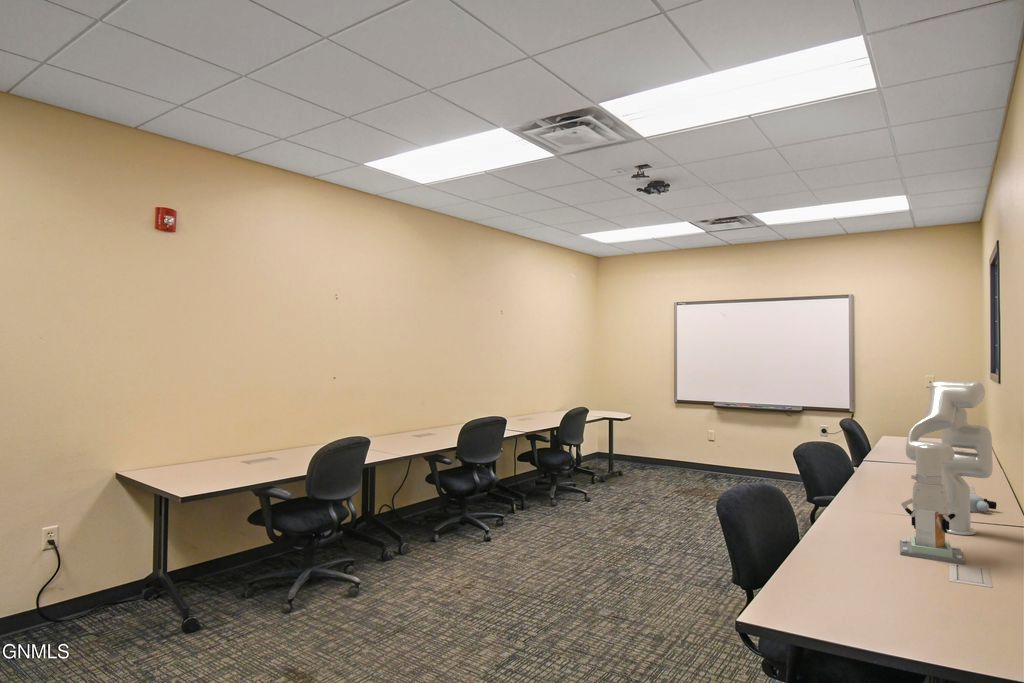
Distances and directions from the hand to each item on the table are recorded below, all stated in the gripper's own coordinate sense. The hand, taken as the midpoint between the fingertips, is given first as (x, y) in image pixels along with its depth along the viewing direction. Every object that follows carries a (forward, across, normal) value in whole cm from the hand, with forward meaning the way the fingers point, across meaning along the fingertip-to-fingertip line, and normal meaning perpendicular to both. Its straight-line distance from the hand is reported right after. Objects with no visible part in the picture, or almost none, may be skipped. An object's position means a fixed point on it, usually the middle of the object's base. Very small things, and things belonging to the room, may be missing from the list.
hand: (930, 529), depth 207 cm
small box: (+6, 0, 0) cm, 6 cm away
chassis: (+8, 0, 0) cm, 8 cm away
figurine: (+9, +18, +83) cm, 86 cm away
